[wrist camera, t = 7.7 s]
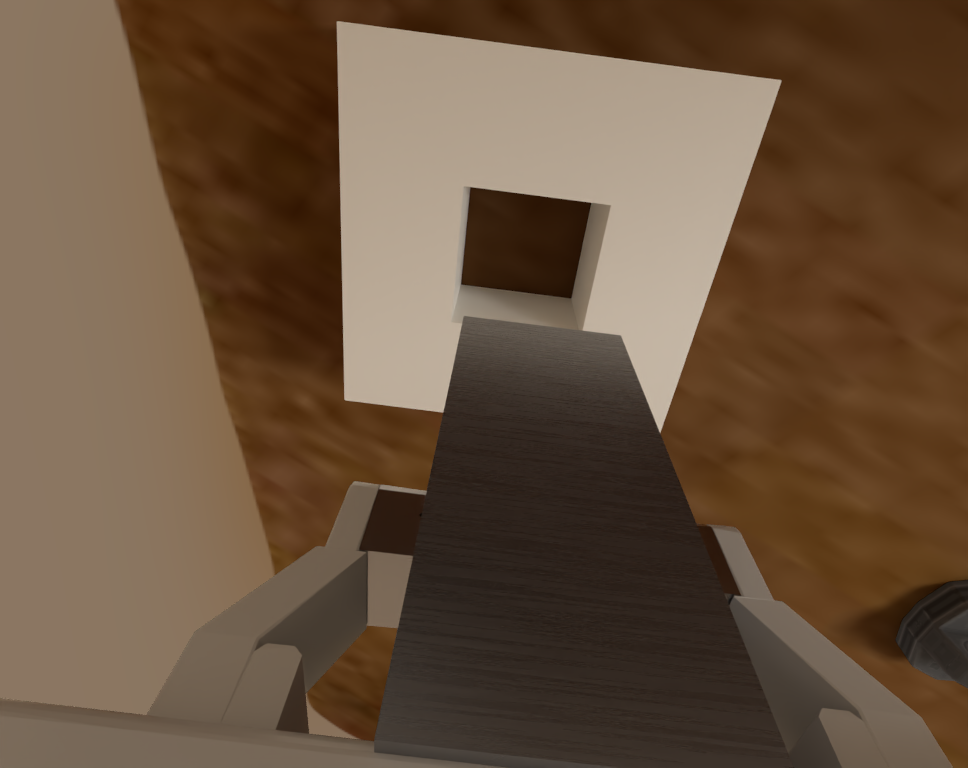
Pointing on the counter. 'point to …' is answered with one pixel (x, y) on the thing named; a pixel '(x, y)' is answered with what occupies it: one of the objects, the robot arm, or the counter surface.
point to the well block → (534, 171)
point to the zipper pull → (938, 633)
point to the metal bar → (564, 579)
